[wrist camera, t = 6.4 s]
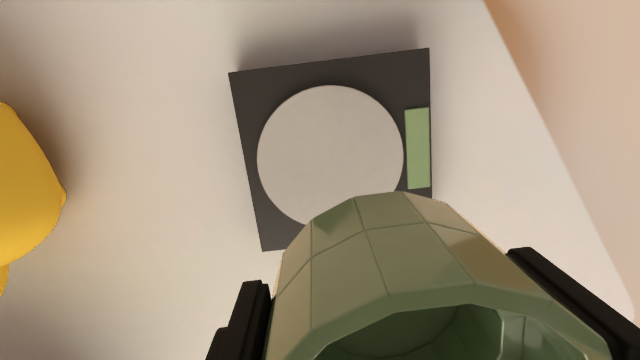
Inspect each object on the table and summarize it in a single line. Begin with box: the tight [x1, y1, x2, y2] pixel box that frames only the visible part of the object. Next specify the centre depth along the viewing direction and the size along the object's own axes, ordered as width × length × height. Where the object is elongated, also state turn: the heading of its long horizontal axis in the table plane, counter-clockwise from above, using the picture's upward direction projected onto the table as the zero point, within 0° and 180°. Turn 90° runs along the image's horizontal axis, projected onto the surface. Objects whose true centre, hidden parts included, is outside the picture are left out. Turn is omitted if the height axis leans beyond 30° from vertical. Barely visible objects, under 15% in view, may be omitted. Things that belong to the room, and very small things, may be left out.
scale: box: [228, 48, 432, 252], centre depth 23 cm, size 13×13×3 cm
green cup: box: [260, 191, 613, 360], centre depth 9 cm, size 7×7×5 cm
